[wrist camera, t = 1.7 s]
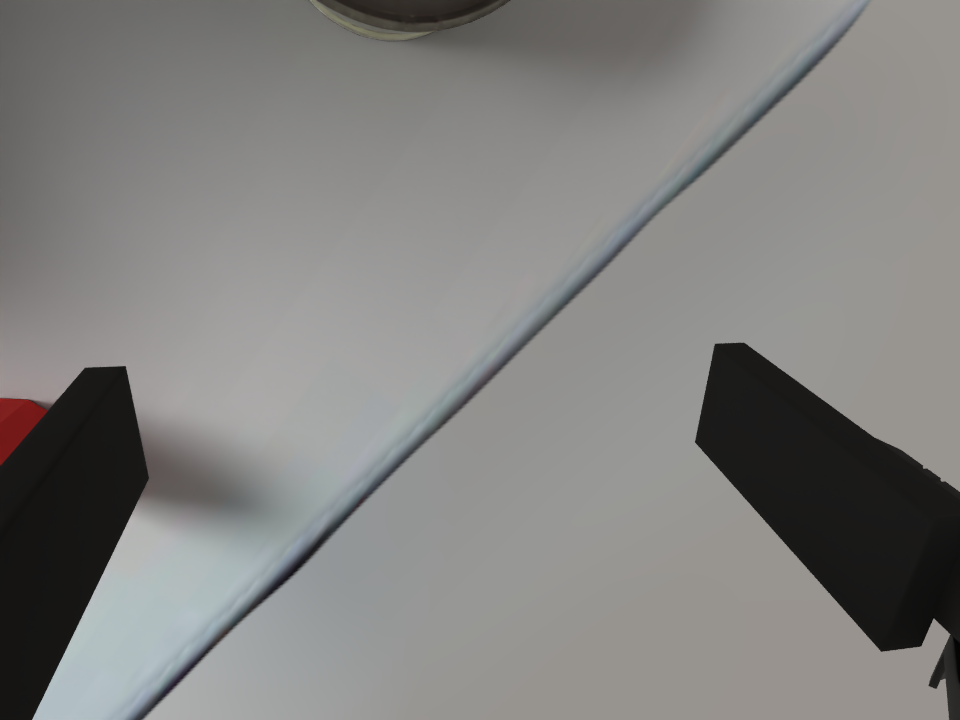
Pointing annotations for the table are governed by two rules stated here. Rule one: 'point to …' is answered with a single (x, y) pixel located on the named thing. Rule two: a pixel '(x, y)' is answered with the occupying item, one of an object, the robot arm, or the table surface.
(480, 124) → the table surface
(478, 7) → the coffee can
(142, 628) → the table surface
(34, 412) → the french fries
